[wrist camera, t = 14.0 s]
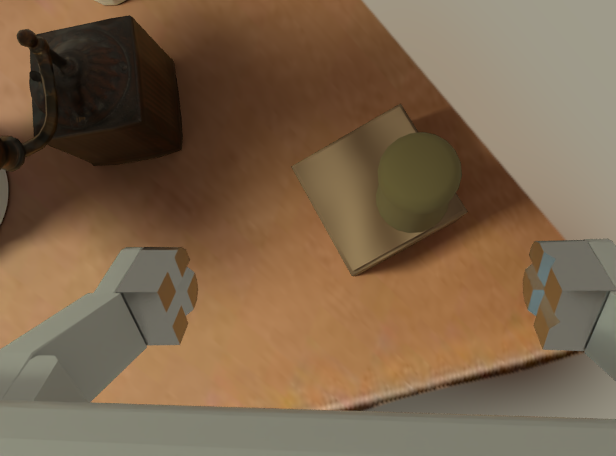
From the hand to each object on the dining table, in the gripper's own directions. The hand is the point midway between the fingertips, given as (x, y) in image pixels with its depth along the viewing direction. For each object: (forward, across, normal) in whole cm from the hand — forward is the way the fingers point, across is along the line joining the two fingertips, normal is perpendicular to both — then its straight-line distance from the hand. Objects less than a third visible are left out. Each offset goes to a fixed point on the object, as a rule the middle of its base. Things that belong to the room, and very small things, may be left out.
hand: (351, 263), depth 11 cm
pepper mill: (+35, +25, +13) cm, 45 cm away
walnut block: (+29, -1, +18) cm, 34 cm away
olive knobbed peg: (+24, -4, +15) cm, 29 cm away
